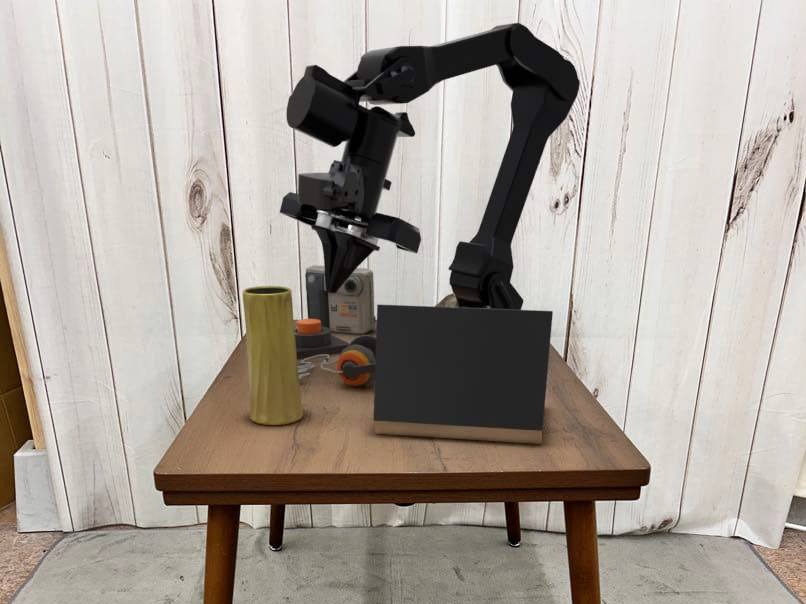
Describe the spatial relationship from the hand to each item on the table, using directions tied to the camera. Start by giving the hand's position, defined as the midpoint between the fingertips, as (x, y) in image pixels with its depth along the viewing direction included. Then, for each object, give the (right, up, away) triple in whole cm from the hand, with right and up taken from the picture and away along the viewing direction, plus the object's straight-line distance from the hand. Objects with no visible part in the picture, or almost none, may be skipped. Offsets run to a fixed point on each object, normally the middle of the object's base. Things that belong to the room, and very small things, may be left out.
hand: (330, 292), depth 98 cm
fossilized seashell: (+17, +4, +32) cm, 37 cm away
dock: (-5, -2, +20) cm, 21 cm away
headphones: (+2, -10, +6) cm, 12 cm away
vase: (-6, -17, -8) cm, 20 cm away
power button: (-5, 0, +19) cm, 20 cm away
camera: (-1, +4, +32) cm, 32 cm away
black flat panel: (+15, -13, -16) cm, 26 cm away
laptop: (+16, -18, -9) cm, 25 cm away
